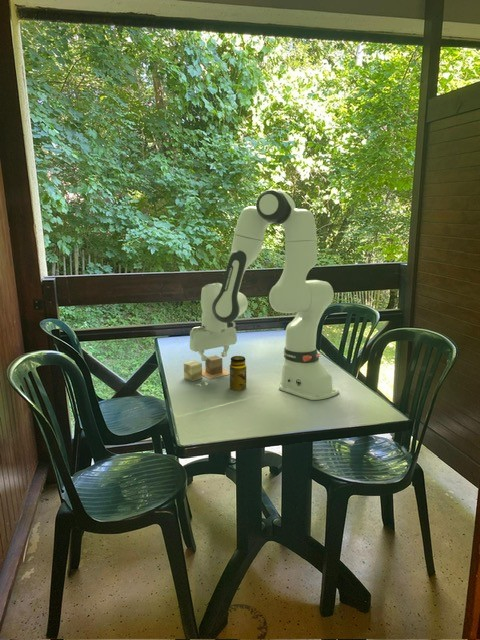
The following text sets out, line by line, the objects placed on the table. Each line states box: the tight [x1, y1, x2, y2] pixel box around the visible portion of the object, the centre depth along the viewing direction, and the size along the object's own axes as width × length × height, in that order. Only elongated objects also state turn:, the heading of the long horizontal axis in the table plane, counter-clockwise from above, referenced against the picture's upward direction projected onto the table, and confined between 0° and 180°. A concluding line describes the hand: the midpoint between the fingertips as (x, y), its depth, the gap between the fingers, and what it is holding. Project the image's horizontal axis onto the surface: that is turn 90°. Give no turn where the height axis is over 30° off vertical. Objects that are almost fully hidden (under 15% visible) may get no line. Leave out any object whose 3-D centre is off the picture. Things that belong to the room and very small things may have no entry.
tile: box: [195, 382, 209, 387], centre depth 162 cm, size 7×7×1 cm
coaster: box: [202, 367, 230, 380], centre depth 175 cm, size 11×11×1 cm
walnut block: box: [204, 355, 224, 375], centre depth 174 cm, size 5×5×6 cm
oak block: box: [183, 360, 203, 382], centre depth 168 cm, size 5×5×6 cm
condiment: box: [229, 355, 247, 392], centre depth 157 cm, size 7×8×12 cm
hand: (214, 358), depth 172 cm, fingers open, 8 cm apart
